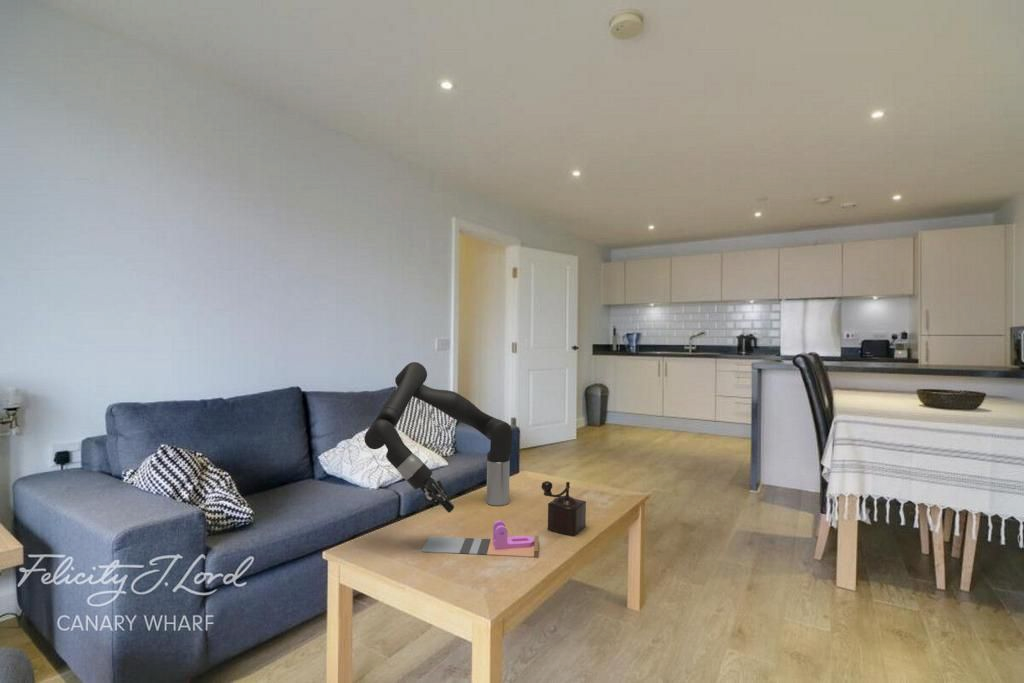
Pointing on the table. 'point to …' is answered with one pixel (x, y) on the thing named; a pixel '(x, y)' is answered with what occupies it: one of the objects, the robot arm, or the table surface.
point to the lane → (476, 547)
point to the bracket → (509, 538)
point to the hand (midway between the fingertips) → (452, 509)
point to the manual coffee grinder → (565, 512)
